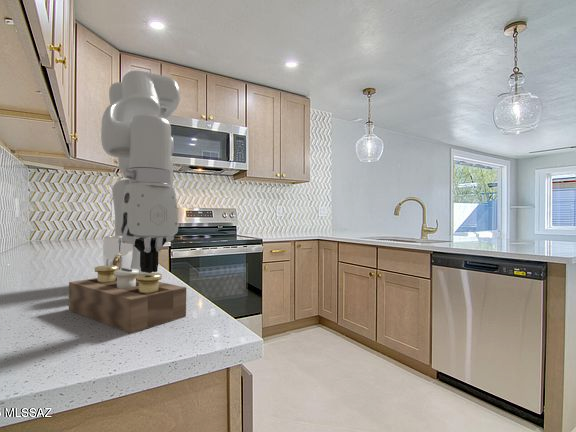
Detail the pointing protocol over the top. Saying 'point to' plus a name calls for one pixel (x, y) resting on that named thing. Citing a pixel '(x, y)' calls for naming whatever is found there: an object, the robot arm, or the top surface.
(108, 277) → the brass knob
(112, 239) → the beer glass
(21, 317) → the top surface
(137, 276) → the brass knob
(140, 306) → the block
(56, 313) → the top surface
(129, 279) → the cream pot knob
